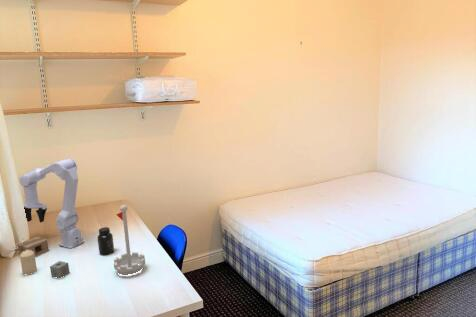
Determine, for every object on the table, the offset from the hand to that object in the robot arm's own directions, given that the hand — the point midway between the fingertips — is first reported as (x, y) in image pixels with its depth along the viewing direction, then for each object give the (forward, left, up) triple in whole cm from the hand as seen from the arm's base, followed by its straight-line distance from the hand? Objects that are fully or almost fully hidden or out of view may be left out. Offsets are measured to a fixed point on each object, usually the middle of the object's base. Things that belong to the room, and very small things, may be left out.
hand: (35, 221), depth 195 cm
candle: (-28, +23, -10) cm, 38 cm away
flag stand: (-68, +3, -10) cm, 69 cm away
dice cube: (-43, +19, -11) cm, 49 cm away
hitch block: (-13, +11, -10) cm, 20 cm away
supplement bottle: (-45, -5, -10) cm, 47 cm away
